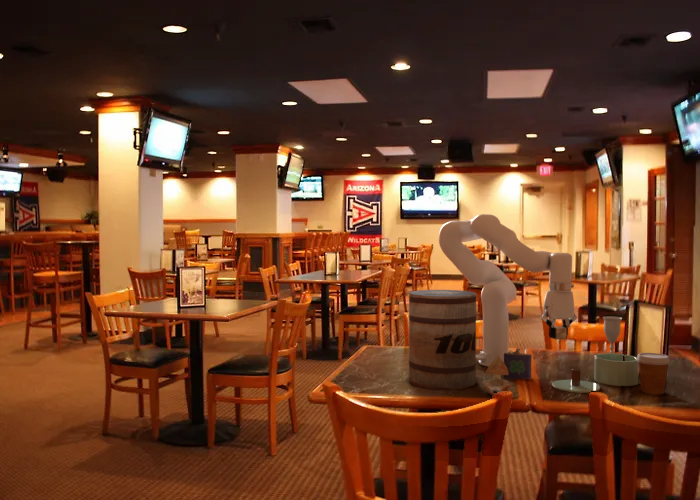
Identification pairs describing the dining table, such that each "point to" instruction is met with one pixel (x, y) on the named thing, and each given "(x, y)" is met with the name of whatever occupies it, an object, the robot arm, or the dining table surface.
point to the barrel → (442, 339)
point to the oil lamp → (496, 377)
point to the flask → (518, 365)
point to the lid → (575, 384)
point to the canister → (616, 369)
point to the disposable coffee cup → (652, 372)
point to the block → (560, 332)
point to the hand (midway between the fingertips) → (558, 337)
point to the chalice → (612, 329)
